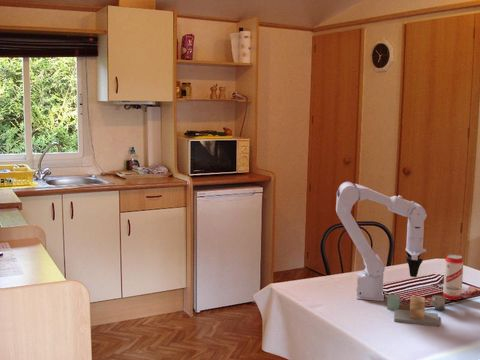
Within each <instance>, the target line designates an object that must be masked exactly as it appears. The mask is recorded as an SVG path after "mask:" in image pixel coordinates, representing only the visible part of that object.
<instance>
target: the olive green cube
mask: <svg viewBox="0 0 480 360" xmlns="http://www.w3.org/2000/svg"><path fill="white" fill-rule="evenodd" d="M400 300H401V299H400V294H389V293H388V294H387V301H386V302H387V304H386V306H387V307H386V308H387V310H393V311H395V309H398V310H400Z"/></svg>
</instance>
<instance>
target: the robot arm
mask: <svg viewBox="0 0 480 360" xmlns="http://www.w3.org/2000/svg"><path fill="white" fill-rule="evenodd" d="M358 200H359V202H361V201H364V200H369V201H373V202H376V203H378V204H381V205H385V206H386V207H387V210H388V211H389V212H391V213H395V214H397V215H400V216H402V217H407V225H406V227H407V228H406V245H405V246H406V247H405V253H406V254H407V256H406V257H405V260H406V263H407V264H408V269H409V275H410V277H412V278H417V277H418V272H419V268H420V266H421V265H422V264H423V262H424V261H423V258H421V256H422V253H426V252H427V249H426V248H424V233H425V220H426V219H427V216H428V214H427V211H426V209H425V208H424V207H423V206H422V205H420V204H419V203H418V202H415V201H414V200H411V201H410V200H407V199H405V198H403V196H402V195H398V196H397V195H393V196H388V195H385V194H383V193H380V192H378V191H376V190H373V189H371V188H369V187H367V186H365V185H362V184H357V183H353V182H351V181H344V182H342V183H341V184H340V185H339V187H338V189H337V191H336V201H335V203H336V204H335V211H336V215H337V217H338V219H339V220H340V223H342V225H343V227H344V228H345V231H346V232H347V234H348V235H349V237H350V238H351V240H352V242H353V244H354V245H355V247H356V248H357V250H358V252H359V254H360V255H361V257H362V259H363V265H364V266H365V268H364V269H363V272H362V271H359V272H358V273H357V280H356V282H357V283H356V284H357V285H356V299H357V300H367V301H368V300H369V301H378V302H384V300H385V299H384V298H385V293H384V294H383V292H384V272H385V270H386V267H385V264H384V263H383V261H382V259H381V257H380V255H379V254H378V253H377V252H374V250H373V249H372V246H371V245H370V244H369V242H368V240H367V238H366V237H365V235H364V233H363V232H362V230H361V229H360V227H359V225H358V223H357V222H356V220H355V218H354V216H353V215H352V213H351V211H352V209H353V206H354V205H355V203H356V202H357V201H358Z"/></svg>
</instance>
